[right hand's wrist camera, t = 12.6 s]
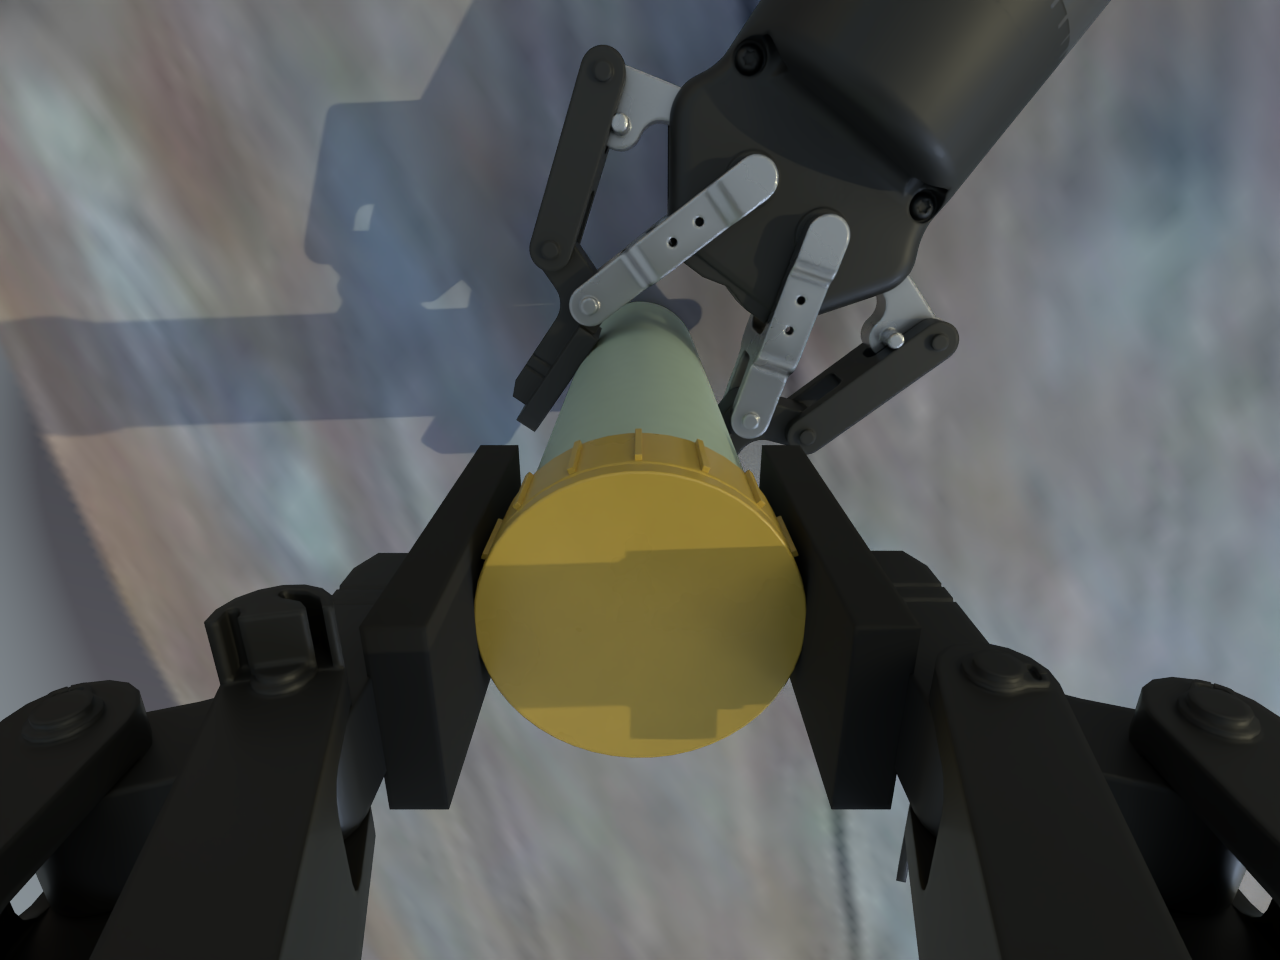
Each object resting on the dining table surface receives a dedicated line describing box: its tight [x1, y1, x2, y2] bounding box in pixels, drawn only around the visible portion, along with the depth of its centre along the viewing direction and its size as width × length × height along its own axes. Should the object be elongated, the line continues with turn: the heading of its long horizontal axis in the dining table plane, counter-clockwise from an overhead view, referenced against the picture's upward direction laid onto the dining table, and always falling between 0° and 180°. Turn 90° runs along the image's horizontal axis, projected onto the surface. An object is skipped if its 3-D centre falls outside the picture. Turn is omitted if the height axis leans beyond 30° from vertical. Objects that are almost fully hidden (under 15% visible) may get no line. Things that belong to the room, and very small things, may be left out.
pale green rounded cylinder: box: [537, 302, 744, 472], centre depth 20 cm, size 4×4×20 cm
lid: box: [474, 429, 806, 758], centre depth 11 cm, size 5×5×2 cm
